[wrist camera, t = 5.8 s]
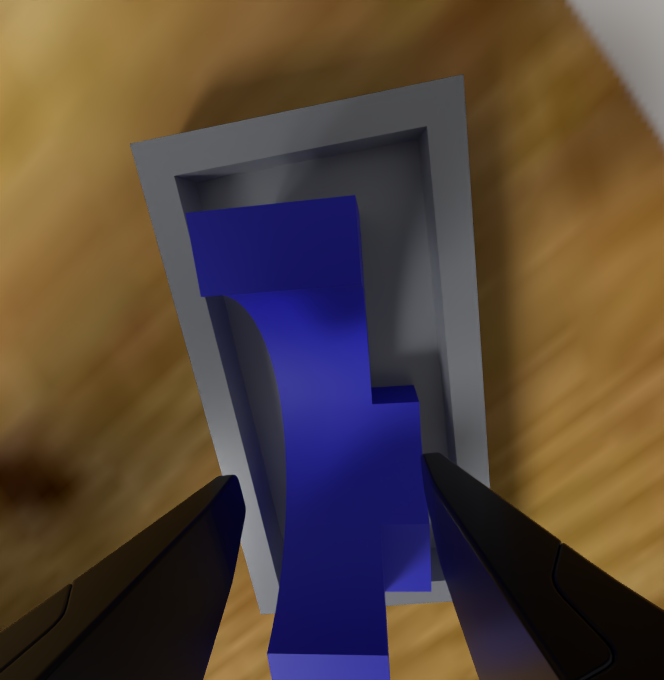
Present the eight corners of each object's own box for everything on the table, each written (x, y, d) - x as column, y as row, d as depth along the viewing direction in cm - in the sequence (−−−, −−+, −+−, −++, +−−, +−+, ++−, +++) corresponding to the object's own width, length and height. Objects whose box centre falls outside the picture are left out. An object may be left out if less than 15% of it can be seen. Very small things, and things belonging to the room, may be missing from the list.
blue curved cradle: (418, 523, 15) (452, 701, 9) (307, 525, 16) (275, 696, 10) (406, 207, 12) (446, 185, 6) (267, 221, 12) (185, 212, 7)
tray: (480, 554, 16) (497, 598, 14) (271, 570, 17) (260, 614, 15) (445, 100, 11) (463, 74, 10) (164, 156, 12) (129, 143, 10)
